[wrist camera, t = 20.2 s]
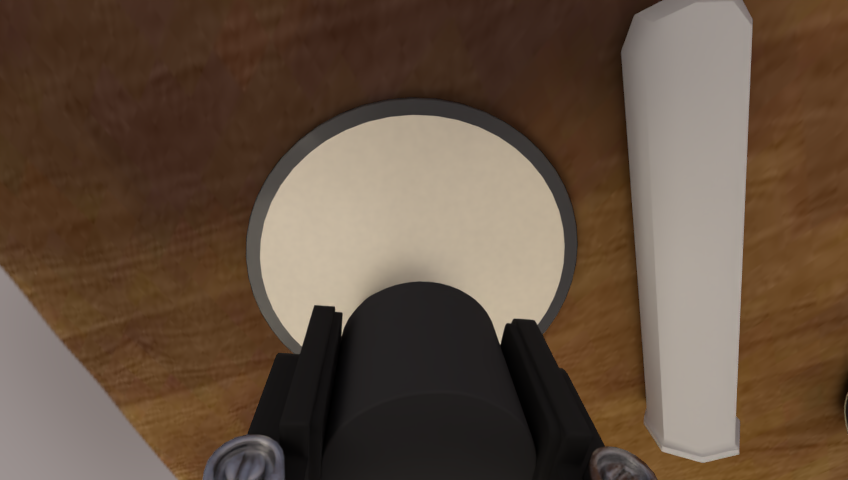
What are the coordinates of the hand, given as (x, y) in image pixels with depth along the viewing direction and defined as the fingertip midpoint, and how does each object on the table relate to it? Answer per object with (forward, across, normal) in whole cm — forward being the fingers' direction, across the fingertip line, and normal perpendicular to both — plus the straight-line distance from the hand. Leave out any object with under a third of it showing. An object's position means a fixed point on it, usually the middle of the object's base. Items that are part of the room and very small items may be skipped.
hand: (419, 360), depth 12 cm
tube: (+13, -15, +1) cm, 19 cm away
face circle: (+12, -1, +4) cm, 13 cm away
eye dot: (+1, 0, 0) cm, 1 cm away
